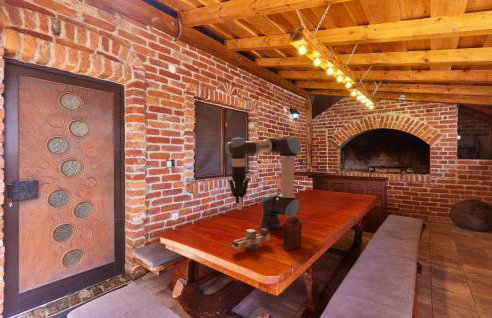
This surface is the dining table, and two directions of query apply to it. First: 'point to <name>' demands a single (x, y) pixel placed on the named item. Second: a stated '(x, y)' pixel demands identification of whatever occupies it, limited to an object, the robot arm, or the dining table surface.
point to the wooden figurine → (292, 233)
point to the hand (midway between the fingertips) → (239, 208)
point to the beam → (252, 241)
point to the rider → (250, 234)
